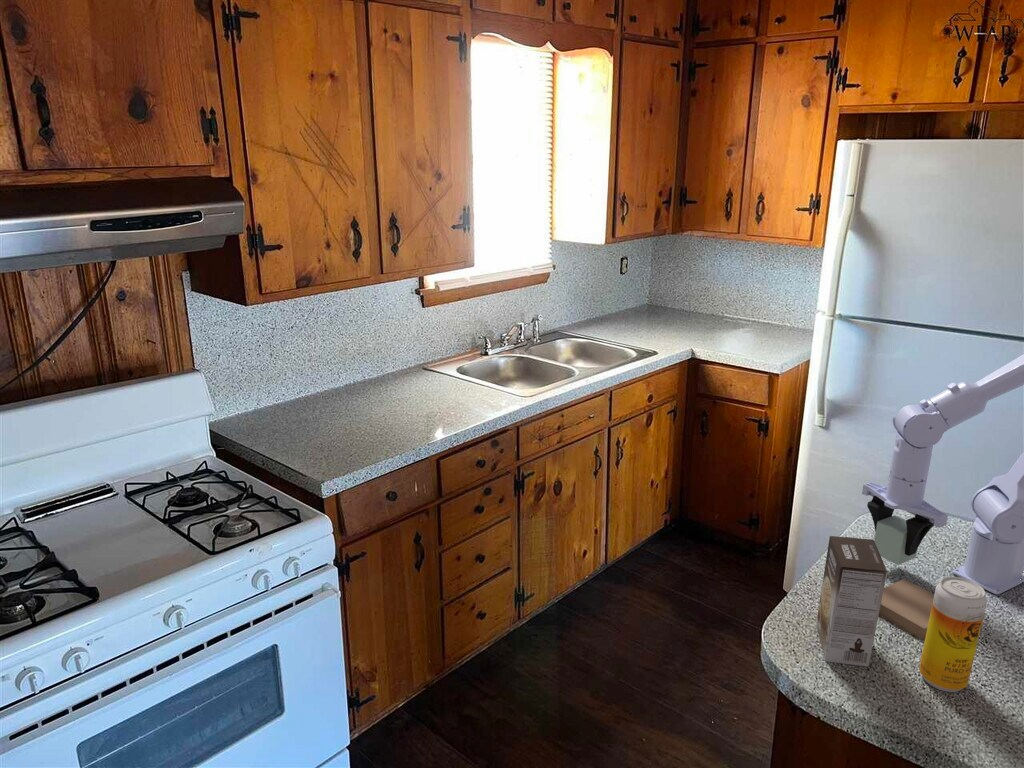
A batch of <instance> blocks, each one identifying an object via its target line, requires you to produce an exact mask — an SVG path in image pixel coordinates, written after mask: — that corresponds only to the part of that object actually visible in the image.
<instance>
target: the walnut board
mask: <svg viewBox="0 0 1024 768" xmlns="http://www.w3.org/2000/svg"><path fill="white" fill-rule="evenodd" d="M934 594H935V593H932V592H930V591H928V590H926V589H925V588H922V587H920V586H919V585H916V584H915V583H912V582H911V581H909V580H907V579H905V578H903V579H902V580H899V581H897V582H895V583H893V584H890V585H887V586H884V590H883V595H882V601H881V606H880V611H879V616H880V617H882V618H883V619H885V620H887V621H888V622H890V623H891V624H894V625H895V626H897V627H898V628H901V629H902V630H904V631H906V632H907V633H909V634H911V635H913V636H915V637H916V638H917V639H919V640H922V641H923V640H925V637H926V633H927V628H928V623H929V618H930V613H931V608H932V604H933V599H934Z"/></svg>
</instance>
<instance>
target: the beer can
mask: <svg viewBox="0 0 1024 768" xmlns="http://www.w3.org/2000/svg"><path fill="white" fill-rule="evenodd" d="M933 594H934V599H933V604H932V608H931V613H930V618H929V623H928V628H927V633H926V637H925V639H924V643H923V647H922V654H921V657H920V663H919V668H918V669H919V672H920V675H921V676H922V678H923V680H924V681H925V682H926V683H927V684H929V685H930V686H931V687H933V688H934V689H937V690H939V691H943V692H947V693H957V692H959V691H961V690H963V689H965V688H966V687H968V685H969V681H970V678H971V677H970V675H971V672H972V668H973V664H974V660H975V655H976V650H977V646H978V642H979V637H980V634H981V630H982V625H983V620H984V616H985V611H986V608H987V603H988V599H987V595H986V591H985V589H984V588H982V587H981V586H980V585H978V584H977V583H975V582H973V581H970V580H967V579H964V578H961V577H959V576H946V577H943V578H942V579H941V580H940V582H939V583H938V584H937V585H935V591H934V593H933Z"/></svg>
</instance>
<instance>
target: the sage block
mask: <svg viewBox="0 0 1024 768" xmlns="http://www.w3.org/2000/svg"><path fill="white" fill-rule="evenodd" d="M906 520H907V519H905V518H903V517H901V516H898V515H896V514H895V515H892V516H891V517H888V518H886V519H883V520H880V521H877V527H876V533H875V532H874V533H875V535H874V539H873V540H874V542H875V544H876V546H877V549H878V551H879V553H880V556H881V558H882V559H885V560H887V561H890V563H893V564H895V565H897V566H899V565H902V564H904V563H906V562H910V561H911V560H914V559H917V555H918V549H919V548H918V549H917V551H916V553H915V554H912V555H910V556H908V555H906V554H905V546H906V541H907V525H906Z"/></svg>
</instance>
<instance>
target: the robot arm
mask: <svg viewBox="0 0 1024 768" xmlns="http://www.w3.org/2000/svg"><path fill="white" fill-rule="evenodd" d="M1023 386H1024V353H1023V354H1022V355H1020V356H1018V357H1016V358H1015V359H1013V360H1012V361H1010V362H1008V363H1006V364H1005V365H1003V366H1001V367H1000V368H998V369H996V370H994V371H992V372H990V374H988V375H986V376H984V377H983V378H981V379H979V380H978V381H976V382H968V381H967V382H966V381H960V382H958V383H956V382H955V381H954V382H951V383H949V384H948V385H946V388H947V389H945V390H944V391H941V392H939V393H937V394H935V395H934V396H931V397H930V398H928V399H925V398H923V399H921V400H920V401H919V402H918V403H919V404H907V405H905V406H904V407H901V409H899V410H898V413H896V415H895V416H893V418H892V425H893V427H894V429H895V430H896V437H895V441H894V446H893V452H892V456H891V464H890V467H889V468H890V469H889V475H888V480H887V485H886V486H884V485H880V484H878V483H875V482H872V481H869V482H866V483H863V485H862V490H861V494H862V495H864V496H871V497H872V499H871V500H870V501H868V502H867V505H866V506H867V508H868V512H870V515H871V517H872V521H873V526H874V533H876V527H877V521H880V520H883V519H886V518H888V517H891V516H894V515H893V514H894V512H895V510H901V511H903V512H907V513H908V514H911V515H914V517H911V518H908V519H905V520H906V525H907V541H906V546H905V554H906V555H908V556H910V555H912V554H915V553H916V551H917V552H918V550H917V549H919V546H920V544H921V543H922V541H923V540H924V538H925V536H926V535H927V534H928V533H929V531H931V530H932V528H933V527H936V528H938V529H939V528H943V527H944V526H947V523H948V517H949V515H948V514H947V513H945V512H943V511H941V510H940V509H938V508H936V507H935V506H933V505H932V504H930V503H929V502H927V501H926V500H925V499H924V497H925V491H926V486H927V480H928V475H929V470H930V467H931V462H932V461H931V459H932V454H933V453H932V452H933V447H934V446H935V445H937V444H938V442H940V440H941V439H942V437H943V435H944V434H945V433H946V432H947V431H948V430H950V429H952V428H954V427H956V426H958V425H960V424H962V423H964V422H966V421H968V420H970V419H972V418H973V417H976V416H978V415H979V414H981V413H983V412H984V411H985V410H986V405H987V404H988V402H989V401H991V400H993V399H996V398H997V397H1000V396H1003V395H1004V394H1006V393H1007V394H1008V393H1009V392H1011V391H1013V390H1016V389H1018V388H1019V387H1020V388H1021V387H1023ZM970 505H971V510H972V511H973V513H974V514H975V518H974V519H975V520H974V522H973V524H972V529H971V534H970V539H969V543H968V548H967V552H966V557H965V560H964V564H963V565H961V566H959V567H957V568H955V569H952V570H951V573H952V574H953V575H955V576H956V577H960V578H964V579H967V580H970V581H973V582H975V583H977V584H978V585H980V586H981V587H982V588H983V589H984V590H986V591H988V592H989V593H992V594H994V595H1001V594H1002V593H1004V592H1006V591H1009V590H1010V589H1013V588H1015V587H1017V586H1019V585H1022V582H1023V583H1024V575H1023V573H1024V451H1022V453H1021V454H1020V456H1019V457H1018V458H1017V459H1016V461H1015V463H1014V464H1013V465H1012V466H1011V468H1010V469H1009V470H1008V472H1007V473H1005V474H1002V475H998V476H994V477H992V479H991V480H990V481H989V483H988V484H987V485H985V486H983V487H982V488H980V489H978V490H977V491H976V492H975V493H974V494H973V495H972V498H971V500H970ZM1020 579H1021V580H1020Z"/></svg>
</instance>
